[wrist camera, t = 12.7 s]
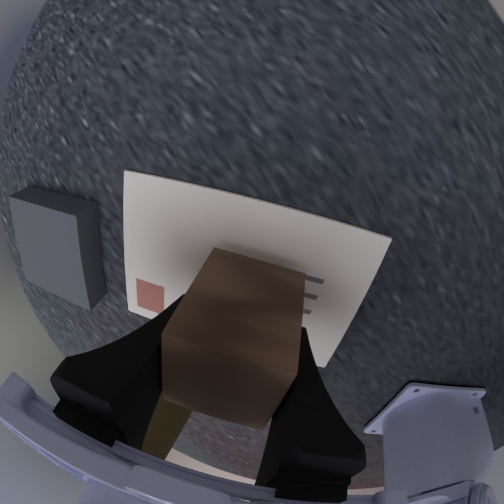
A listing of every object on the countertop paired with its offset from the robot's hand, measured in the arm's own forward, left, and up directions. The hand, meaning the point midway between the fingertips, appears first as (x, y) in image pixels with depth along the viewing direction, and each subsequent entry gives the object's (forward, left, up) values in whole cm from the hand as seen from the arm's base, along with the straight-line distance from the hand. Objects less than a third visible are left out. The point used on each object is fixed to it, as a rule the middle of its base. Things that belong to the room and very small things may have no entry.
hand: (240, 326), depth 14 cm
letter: (+1, 0, -3) cm, 3 cm away
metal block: (+13, +1, -4) cm, 14 cm away
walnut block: (0, 0, -2) cm, 2 cm away
